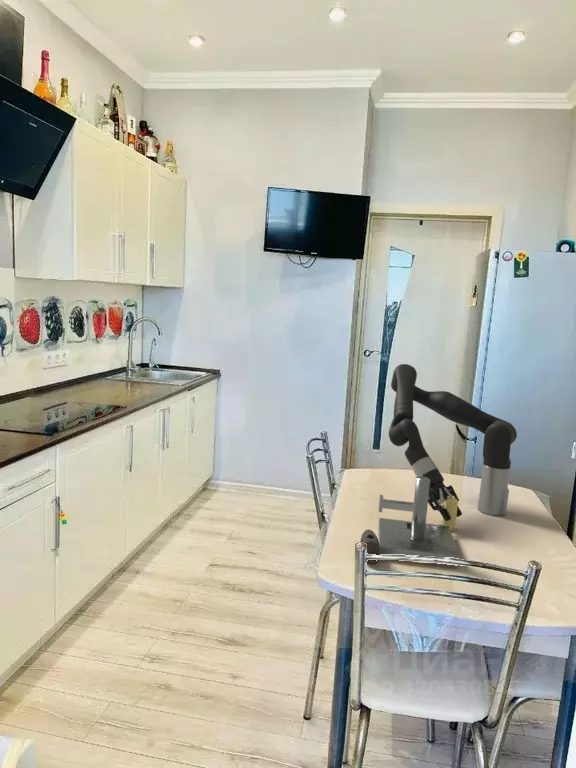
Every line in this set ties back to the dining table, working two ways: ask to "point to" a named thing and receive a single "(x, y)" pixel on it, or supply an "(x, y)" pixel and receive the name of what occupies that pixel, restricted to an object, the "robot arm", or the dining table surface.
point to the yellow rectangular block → (451, 512)
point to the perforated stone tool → (371, 543)
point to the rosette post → (415, 529)
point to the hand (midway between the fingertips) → (454, 517)
